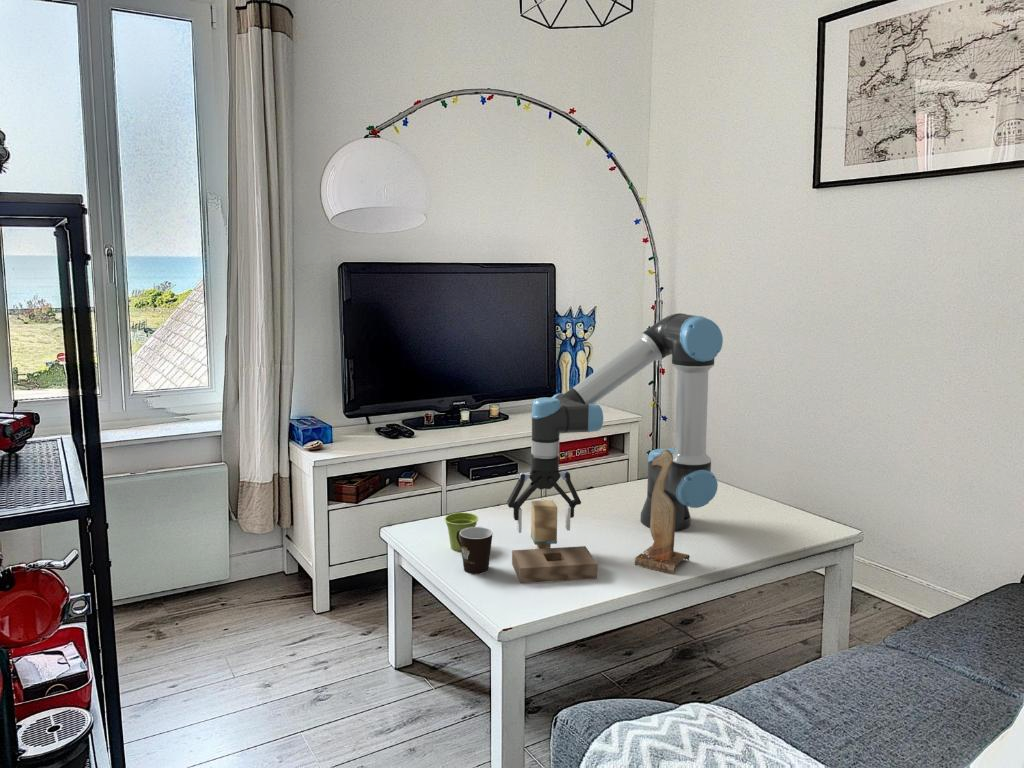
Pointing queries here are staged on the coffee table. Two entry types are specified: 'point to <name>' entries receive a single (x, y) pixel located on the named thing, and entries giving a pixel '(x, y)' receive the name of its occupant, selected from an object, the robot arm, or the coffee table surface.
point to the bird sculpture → (661, 523)
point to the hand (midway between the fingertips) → (543, 530)
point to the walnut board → (554, 564)
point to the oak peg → (544, 523)
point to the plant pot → (459, 526)
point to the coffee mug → (475, 549)
